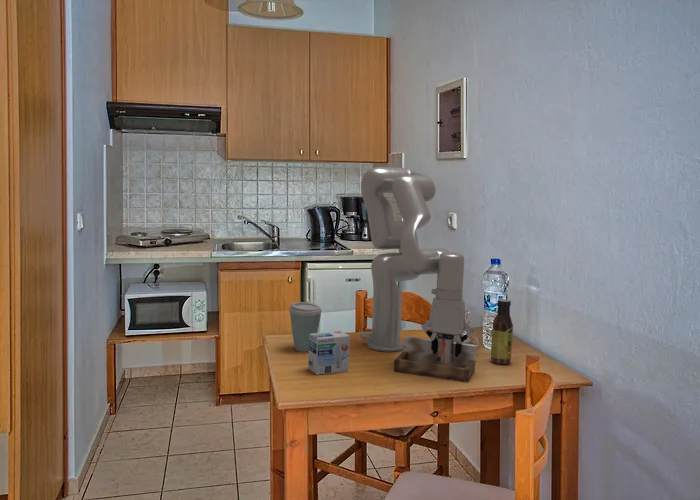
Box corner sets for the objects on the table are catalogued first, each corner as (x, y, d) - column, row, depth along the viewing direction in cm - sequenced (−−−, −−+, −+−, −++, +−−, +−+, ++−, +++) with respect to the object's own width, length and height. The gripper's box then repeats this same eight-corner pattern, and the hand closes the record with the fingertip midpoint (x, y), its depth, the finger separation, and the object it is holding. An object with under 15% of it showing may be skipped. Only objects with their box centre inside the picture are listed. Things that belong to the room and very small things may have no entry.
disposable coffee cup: (321, 345, 213) (322, 301, 211) (320, 354, 202) (321, 308, 200) (289, 344, 212) (290, 300, 210) (287, 353, 202) (288, 307, 200)
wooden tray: (393, 371, 188) (395, 345, 187) (404, 361, 198) (405, 336, 197) (468, 382, 180) (469, 354, 179) (474, 371, 190) (476, 345, 189)
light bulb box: (316, 375, 182) (317, 339, 180) (307, 368, 188) (308, 333, 186) (349, 371, 187) (350, 335, 185) (339, 364, 193) (340, 329, 191)
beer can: (435, 366, 191) (436, 326, 190) (450, 366, 191) (451, 326, 190) (438, 370, 186) (439, 329, 185) (454, 370, 186) (455, 329, 186)
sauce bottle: (511, 366, 196) (515, 303, 194) (490, 364, 198) (494, 301, 195) (510, 360, 203) (514, 299, 200) (490, 358, 204) (494, 297, 201)
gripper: (417, 294, 185) (414, 353, 188) (476, 300, 179) (473, 361, 182) (423, 289, 192) (420, 347, 195) (480, 295, 186) (477, 354, 189)
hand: (446, 353), depth 188 cm, fingers open, 6 cm apart
